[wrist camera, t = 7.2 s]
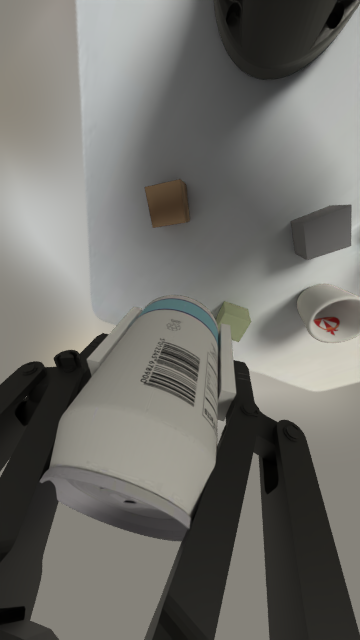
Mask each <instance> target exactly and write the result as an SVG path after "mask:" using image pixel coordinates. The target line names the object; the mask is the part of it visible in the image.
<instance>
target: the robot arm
mask: <svg viewBox="0 0 360 640" xmlns="http://www.w3.org/2000/svg"><path fill="white" fill-rule="evenodd" d="M359 4H360V0H214V7H215V15H216V20H217V25H218V29H219V33H220V36H221V39H222V42H223V44H224V46H225V49H226V51H227V52H228V54H229V56H230V57H231V59H232V60H233V62H234V63H235V64H236V65H237V66H238V67H239V68H240V69H241V70H242V71H244V72H245V73H247V74H248V75H250V76H252V77H255V78H259V79H278V78H282V77H285V76H288V75H290V74H292V73H294V72H296V71H298V70H300V69H302V68H303V67H305V66H306V65H307V64H309V63H310V62H311V61H313V60H314V59H315V58H316V57H317V56H319V55H320V54H321V53H322V52H323V51H324V50H325V49H326V48H327V47H328V46H329V45H330V44H331V42H332V41H333V40H334V39H335V38H336V37H337V35H338V34H339V33H340V32H341V30H342V29H343V28H344V26H345V25H346V23H347V22H348V21H349V19H350V18H351V16H352V15H353V13H354V12H355V10H356V9H357V7H358V6H359ZM141 312H142V308H137V307H133V308H132V309H131V310H130V311H129V312H128V314H127V315H126V316H125V317H124V318H123V319H122V320H121V321H120V323H119V324H118V325H117V326H116V327H115V328H114V329H113V330H112V332H111V333H110V334H104V333H102V334H101V335H99V336H97V337H96V338H95V339H94V340H93V341H92V342H91V343H90V344H89V345H88V346H87V347H86V348H85V349H84V350H83V351H82V352H81V353H80V354H79V353H78V352H77V351H75V350H67V351H63V352H61V353H59V354H57V355H56V356H55V357H54V361H55V364H56V366H57V367H44V365H43V364H42V363H41V362H30V363H27V364H24V365H22V366H21V367H20V368H18V369H17V370H16V371H15V372H14V373H13V374H12V375H10V376H9V377H8V378H7V379H6V380H5V381H4V382H3V383H2V384H1V385H0V471H1V470H2V468H3V467H4V466H5V464H6V463H7V461H8V460H9V459H10V460H9V462H8V464H7V466H6V467H5V469H4V471H3V473H2V475H1V477H0V640H59V639H58V638H57V637H56V635H55V634H54V633H53V631H52V630H51V629H49V628H47V627H44V626H42V625H39V624H37V623H34V622H32V621H30V618H31V614H32V611H33V607H34V604H35V600H36V596H37V593H38V589H39V585H40V581H41V575H42V559H43V554H44V550H45V546H46V543H47V539H48V535H49V532H50V529H51V525H52V522H53V519H54V515H55V512H56V508H57V505H58V500H57V493H56V488H55V485H54V484H53V483H52V482H51V481H50V480H48V481H45V482H43V483H41V482H40V479H41V478H42V476H43V475H44V473H45V472H46V471H47V470H49V467H50V462H51V457H52V453H53V448H54V443H55V439H56V434H57V429H58V424H59V421H60V419H61V417H62V415H63V414H64V412H65V411H66V410H67V408H68V407H69V406H70V405H71V403H72V402H73V401H74V399H75V398H76V397H77V395H78V394H79V393H80V392H81V390H82V389H83V388H84V386H85V385H86V384H87V383H88V381H89V380H90V379H91V377H92V376H93V375H94V373H95V372H96V371H97V370H98V368H99V367H100V366H101V364H102V363H103V362H104V360H105V359H106V358H107V357H108V355H109V354H110V353H111V351H112V350H113V349H114V347H115V346H116V345H117V344H118V342H119V341H120V340H121V338H122V337H123V336H124V335H125V333H126V332H127V331H128V329H129V328H130V327H131V325H132V324H133V323H134V322H135V320H136V319H137V318H138V316H139V315H140V314H141ZM26 396H27V397H26ZM25 397H26V398H25ZM225 417H226V425H225V427H224V430H223V432H222V436H221V438H220V441H219V443H218V446H217V456H216V463H215V466H214V469H213V470H212V472H211V474H210V476H209V479H208V481H207V484H206V487H205V489H204V492H203V494H202V497H201V499H200V502H199V505H198V507H197V510H196V512H195V515H194V517H193V522H192V525H191V528H190V530H188V529H187V532H186V534H185V536H184V538H183V540H182V542H181V545H180V548H179V550H178V553H177V556H176V559H175V561H174V564H173V566H172V569H171V572H170V575H169V577H168V580H167V583H166V585H165V588H164V591H163V593H162V596H161V598H160V601H159V604H158V606H157V608H156V611H155V613H154V616H153V618H152V621H151V623H150V626H149V628H148V631H147V634H146V636H145V639H144V640H214V637H215V633H216V628H217V623H218V618H219V613H220V609H221V604H222V599H223V594H224V590H225V585H226V580H227V575H228V571H229V566H230V561H231V556H232V551H233V547H234V542H235V537H236V532H237V528H238V523H239V518H240V513H241V508H242V503H243V499H244V494H245V490H246V485H247V480H248V475H249V470H250V466H251V460H252V456H253V452H254V453H256V454H257V455H259V467H260V484H261V500H262V518H263V534H264V551H265V567H266V568H265V569H266V586H267V602H268V619H269V635H270V640H360V634H359V631H358V627H357V623H356V620H355V616H354V612H353V609H352V605H351V601H350V598H349V594H348V590H347V587H346V583H345V579H344V576H343V572H342V568H341V565H340V561H339V557H338V554H337V550H336V546H335V543H334V539H333V535H332V532H331V528H330V525H329V521H328V517H327V513H326V510H325V506H324V502H323V499H322V495H321V491H320V488H319V484H318V481H317V477H316V473H315V469H314V466H313V462H312V458H311V455H310V451H309V447H308V444H307V440H306V437H305V435H304V433H303V432H302V430H301V429H300V428H299V427H298V426H297V425H295V424H294V423H293V422H290V421H288V420H281V421H279V422H276V421H274V420H273V419H271V418H269V417H267V416H266V415H264V414H263V413H262V412H260V410H259V408H258V407H257V405H256V404H255V402H254V397H253V391H252V386H251V382H250V376H249V369H248V367H247V366H246V364H245V363H244V362H240V361H235V360H233V351H232V340H231V328H230V325H227V324H222V323H221V325H220V329H219V338H218V415H217V420H221V421H224V419H225ZM10 457H11V458H10Z"/></svg>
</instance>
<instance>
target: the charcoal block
mask: <svg viewBox="0 0 360 640" xmlns="http://www.w3.org/2000/svg"><path fill="white" fill-rule="evenodd" d="M291 226H292V234H293V242H294V250H295V253H296V254H297V255H299V256H301V257H303V258H304V259H306V260H309V259H312V258H315V257H318V256H322V255H325V254H328V253H331V252H334V251H337V250H340V249H343V248H346V247H350V246H351V205H332V206H328V207H325V208H323V209H320V210H318V211H315V212H313V213H310V214H308V215H305V216H303V217H300V218H298V219H295V220H293V221H291Z"/></svg>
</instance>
